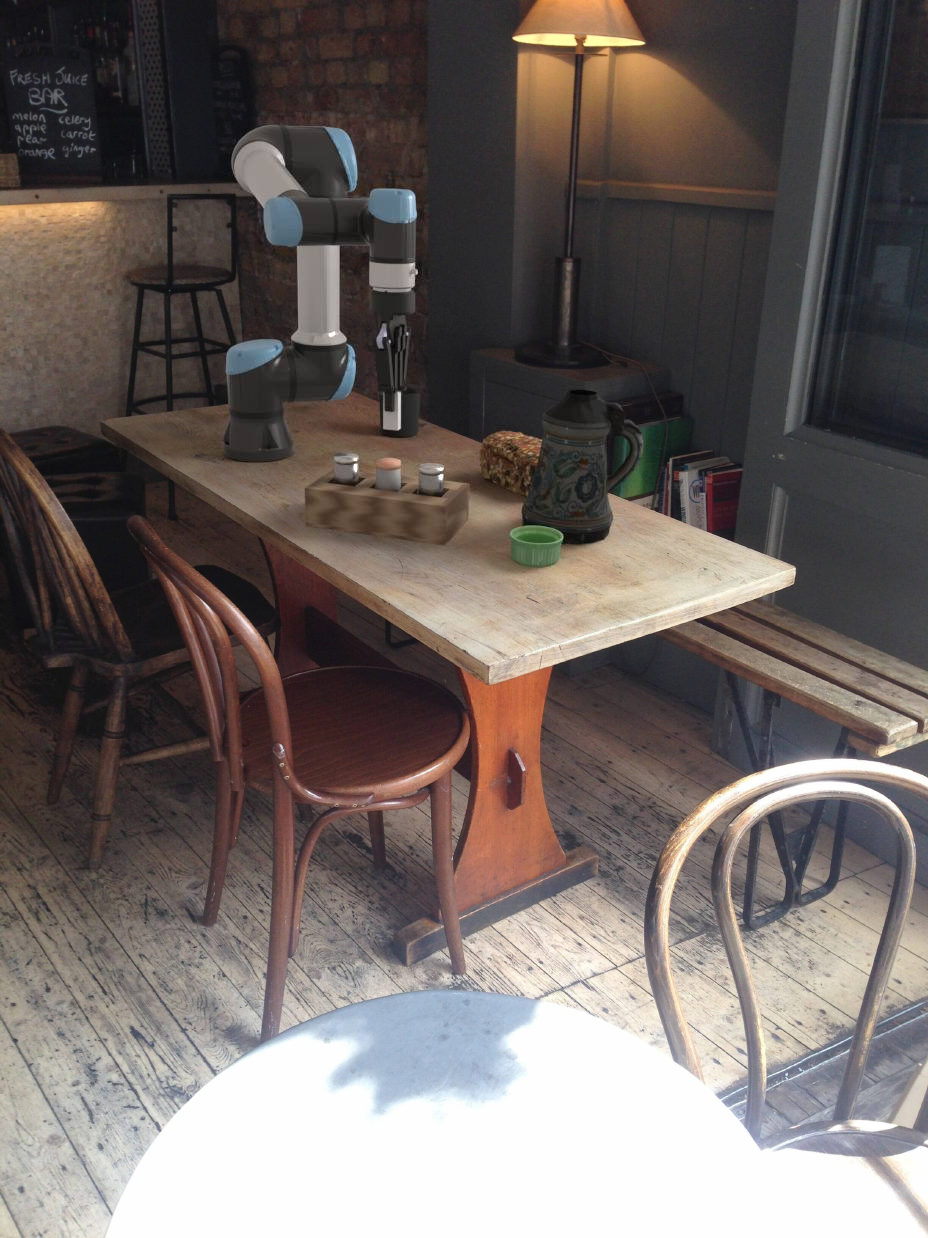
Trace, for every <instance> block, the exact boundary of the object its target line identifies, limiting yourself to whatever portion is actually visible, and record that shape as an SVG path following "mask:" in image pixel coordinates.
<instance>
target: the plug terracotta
mask: <svg viewBox="0 0 928 1238" xmlns="http://www.w3.org/2000/svg"><path fill="white" fill-rule="evenodd" d="M375 472H376V489H378V490H386V491H394V492H398V491H399V490H400V489H401V475H402V460H400V459H398V458H396V457H395V458H394V457H383V458H382V457H381V458H378V459H375Z"/></svg>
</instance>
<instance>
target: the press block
mask: <svg viewBox="0 0 928 1238" xmlns="http://www.w3.org/2000/svg"><path fill="white" fill-rule="evenodd" d="M470 485H471V483H467V482H457V481H451V480H444V489H443V496H442V497H441V498H440V497H432V496H425V495H418V488H419V476H412V475H402V474H401V489H400V490H399V491H398V492H394V491H386V490H378V489H376V471H370V470H362V469H359V484H358V485H356V486H347V485H340V484H334V468H332V469H331V470H329V471H328V472H327V473H325V474H323V475H322V476H321V477H320V478H319V477H318V479H316V480H314V481H313V482H311V483H310V484H308V485H307V486H305V487H304V514H305V516H304V518H305V526H306V527H313V528H319V529H327V530H333V531H339V532H340V531H341V532H347V533H348V532H349V533H355V534H362V535H368V536H376V537H382V538H390V539H398V540H404V541H412V542H419V543H425V544H432V545H439V546H445V545H447V543H448V542H449V541H450V540H451V539H453V537H454V536H455V535H456V534H457V533H458V532H459V531H460V530H461V529H462V527H464V526H465V524H467V522H468V521H469V513H470V511H469V509H470V506H469V505H470Z"/></svg>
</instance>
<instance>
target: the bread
mask: <svg viewBox="0 0 928 1238" xmlns="http://www.w3.org/2000/svg"><path fill="white" fill-rule="evenodd" d="M541 444H542V439H539V438H538V437H534V436H532V435H526V434H524V433H522V432H521V431H517V432H515V431H511V430H508V431H507V430H501V431H496V432H493V433H490V434H488V435H487V436H486V437H485V438H484V439H483V440H482V445H481V447H480V449H479V456H480V459H479V461H480V463H479V467H480V469H481V471H480V472H481V475H482V477H483V478H484V480H489V481H491V482H492V483H494V484H495V485H498V486H500V487H501V488H504V489H506V490H508V491H510V492H512V493H515V494H517V495H523V496H524V497H527V496H528V493H529V491H530V488H531V485H532V481H533V478H534V474H535V470H536V466H537V462H538V457H539V453H540V448H541Z"/></svg>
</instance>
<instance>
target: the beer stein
mask: <svg viewBox="0 0 928 1238" xmlns="http://www.w3.org/2000/svg"><path fill="white" fill-rule="evenodd" d="M541 415H542V416H541V423H542V428H543V435H542V439H541V440H542V444H541V448H540V453H539V457H538V462H537V466H536V470H535V474H534V478H533V481H532V485H531V488H530V491H529V493H528V496H526V498H525V500H524V502H523V504H522V506H521V510H520V511H521V517H522V526H545V527H550V528H553V529H556V530H558V531H560V532H561V533H562V534H563V541H562V543H561V545H570V546H571V545H575V546H579V545H580V546H582V545H588V544H594V543H598V542H601V541H604V540H605V539H606V538H607V537H608V536H609V534H610V531H611V526H612V524H613V521H614V513H613V510H612V508H611V505H610V504H611V503H610V500H609V499H610V498H609V494H610V493H611V492H613V491H614V490H616V489H617V488H618V487H619V486H621V485H622V484H624V482H625V481H626V480H627V479H628V478H629V477H630V476H631V475H632V474H633V472H635V470H636V468H637V467H638V465H639V463H640V461H641V458H642V456H643V452H644V451H643V450H644V441H643V436H642V434H643V431H642V429H641V428H640V427H639V426H637V425H636V423H635V422H634V421H632V420H630V419H626V414H625V411H624V409H623V408H622V406H621V404H619V403H617V402H612V401H606V400H604V399H602V398H601V397H600V396H599V392H596V391H595V390H594V391H593V390H588V389H570V390H568V391H567V393H566V394H565V396H564V397H563V398H561V400H559V401H557V402H556V403H554V404H553V405H551V406H550V407H549V408H547V409H545V411H544V412H543V414H541ZM608 436H611V437H622V438H624V439H626V440H627V442H628V445H629V451H628V454H627V455H626V457H625V459H624V461H623V463H622V464H621V465H620V466H618V468H617V469H615V470H614V472H613V473H611V475H608V451H607V450H608V449H607V445H608V444H607V443H608V442H607V441H608Z"/></svg>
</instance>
